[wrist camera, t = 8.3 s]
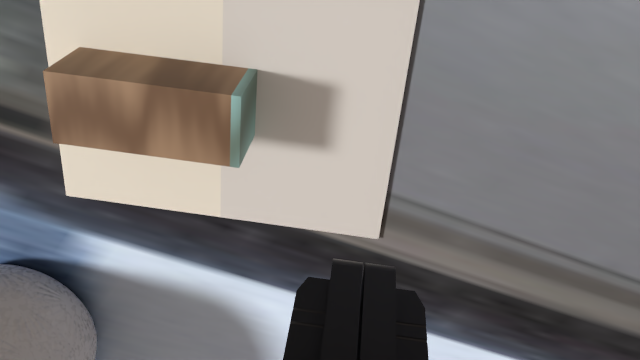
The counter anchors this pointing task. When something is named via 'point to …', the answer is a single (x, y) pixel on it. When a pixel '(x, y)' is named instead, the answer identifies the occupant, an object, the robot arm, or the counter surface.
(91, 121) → the walnut block
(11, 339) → the planter
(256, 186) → the cream flat rectangular panel
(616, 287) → the counter surface
